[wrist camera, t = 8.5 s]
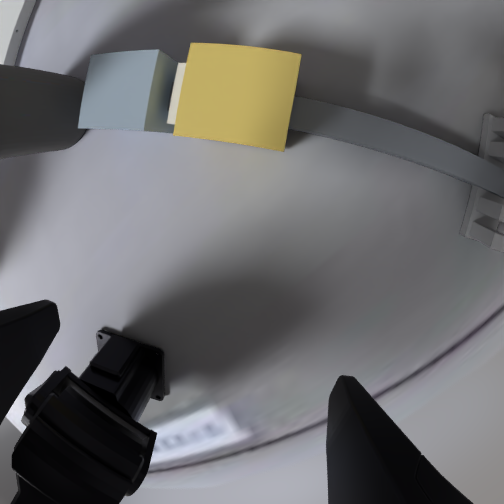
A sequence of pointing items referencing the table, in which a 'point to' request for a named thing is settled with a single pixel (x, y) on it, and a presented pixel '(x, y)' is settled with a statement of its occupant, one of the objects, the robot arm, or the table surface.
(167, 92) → the grey long bar
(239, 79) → the pale yellow cube
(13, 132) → the bottle
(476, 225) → the grey boxy piece
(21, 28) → the mounting plate
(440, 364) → the table surface
